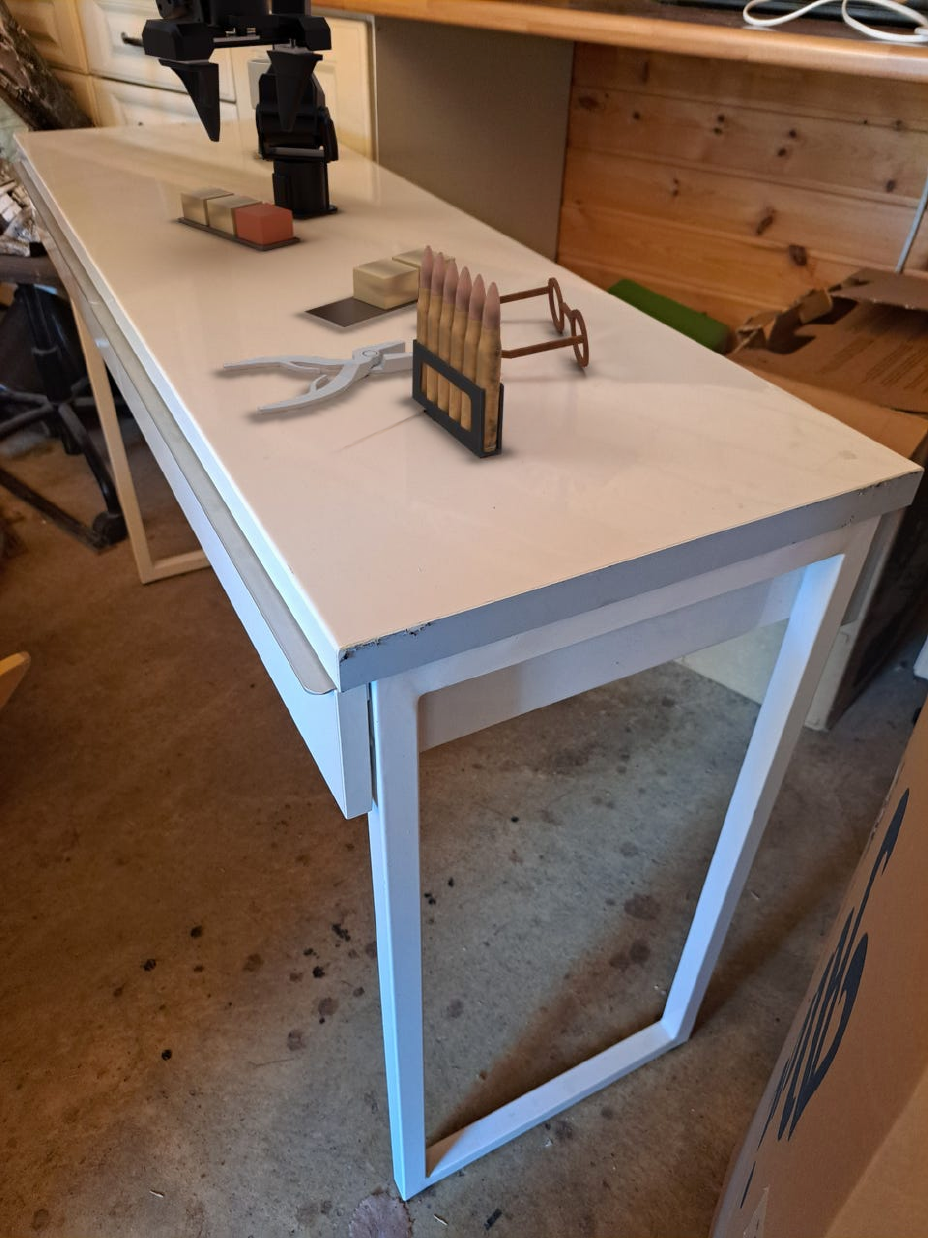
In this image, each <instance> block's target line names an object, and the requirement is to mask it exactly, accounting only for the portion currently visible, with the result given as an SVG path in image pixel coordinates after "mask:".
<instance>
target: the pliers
mask: <svg viewBox="0 0 928 1238" xmlns="http://www.w3.org/2000/svg"><path fill="white" fill-rule="evenodd" d="M351 351H352V358H328V357H323V356H317V355H316V356H314V355H275V356H262V357H254V358H248V359H243V360H237V361H233V362H229V363H224V364H223V366H222V367H223V370H224V371H225V372H230V371H237V370H239V371H240V370H247V369H257V368H271V367H280V368H284V369H288V370H289V371H293V372H297V373H301V374H311V375H320V374H321V369H322V370H340V371H339V373H338V374H337V375H336V376H335V377H334V378H333V379H332V380H331V381H329V382H328V383H327V384H325V385H324V386H322V387H320V388H318V386H320V385H321V384H322V383H324V382H325V381H327V380H328V375H327V374H322V375H320V376H319V377H317V378H316V379H314V380H313V381H312V383H311V384H310V388H309V391H308V393H305V394H302V395H299V396H296V397H293V398H290V399H286V400H281V401H278V402H275V403H274V402H273V403H271V404H266V405H261V406H257V412H258V413H259V415H267V414H277V413H282V412H283V413H284V412H288V411H293V410H297V409H303V408H306V407H310V406H314V405H316V404H319V403H322V402H325V401H327V400H330V399H332V398H334V397H337V396H339V395H341V394H342V393H344V392H345V391H347V390H348V389H349V387H351V386H352V384H354V383H356V382H358V381H360V380H361V379H364V378H365V377H366V376H369V375H371V376H372V375H384V374H389V373H396V372H405V371H410V370H412V366H413V352H406V341H404V340H402V339H398V340H397V339H396V340H393V341H388V342H382V343H376V344H373V345H366V346H363V347H361V348H357V349H353V350H351ZM317 388H318V389H317Z"/></svg>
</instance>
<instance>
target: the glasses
mask: <svg viewBox="0 0 928 1238" xmlns="http://www.w3.org/2000/svg"><path fill="white" fill-rule="evenodd" d="M547 281H548V282H547V286H546V285H545V286H541V287H536V288H532V289H528V290H523V291H518V292H513V293H509V294H505V295H499V299H500V305H503V304H506V303H512V302H516V301H521V300H526V299H530V298H536V297H539V296H545V295H548V303H549V304H548V305H549V309H550V314H551V319H552V322H553V325H554V327H555V329H556V331H557V332H563V331H564V330H565V326H566V325H565V323H566V322H565V320H566V319H565V317H566V318H567V320H568V322H569V326H570V336H569V337H563V338H561V339H556V340H551V341H546V342H542V343H536V344H531V345H527V346H523V347H519V348H513V349H510V350H508V349H502V356H501V359H508V360H511V359H517V358H521V357H525V356H526V357H527V356H530V355H534V354H539V353H544V352H548V351H554V350H557V349H563V348H567V347H572V348H573V352H574V356H575V358H576V361H577V363H578V365H579V366H580V367H581V368H587V367H588V366H589V362H590V346H589V345H590V344H589V338H588V337H589V336H588V332H587V331H588V330H587V327H586V323H585V320H584V317H583V315H582V313H581V311H580V310H579V309H578V308H576V309H572V310H571V308H570V307H569V306H568V303H566V301H564V299H563V294H562V290H561V287H560V285H559V282H558V280H557V278H556V277H554V276H553V277H549V278H548V280H547ZM554 292H555V296H556V299H557V300H556V301H557V306H558V315H557V312H556V311H557V310H556V306H555V298H554V297H555V296H554ZM577 323H578V327H579V330H580V334H579V335H577ZM580 344H582V353H581V350H580V347H579V345H580Z"/></svg>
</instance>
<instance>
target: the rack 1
mask: <svg viewBox="0 0 928 1238" xmlns="http://www.w3.org/2000/svg"><path fill="white" fill-rule="evenodd" d="M179 196H180V203H181V208H182V217H181V216H180V217H178V218H177V221H178V222H179V223H182V224H183V225H184V224H185V225H188V226H190V227H193V228H197V229H199V230H202V231H204V232H207V233H210V234H213V235H216V236H219V237H221V238H224V239H228V240H230V241H233V242H236V243H239V244H242V245H244V246H248V247H250V248H253V249H256V250H259V251H262V252H264V251H268V250H272V249H276V248H280V247H284V246H288V245H292V244H298V243H301V238H300V237H297V236H295V235H294V238H291V239H287V240H283V241H279V242H274V243H270V244H266V245H261V244H258V243H255V242H252V241H249V240H246V239H243V238H240V237H238V232H237V224H236V216H235V209H239V208H244V207H249V206H254V205H259V204H263V201H261V200H258V199H254V198H253V197H252V198H251V197H248V196H245V195H242V194H235V193H234V192H232V191H228V190H225V189H222V188H219V187H216V186H213V185H211V186H203V187H199V188H193V189H188V190H182V191H180V192H179Z"/></svg>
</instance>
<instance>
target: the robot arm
mask: <svg viewBox="0 0 928 1238" xmlns="http://www.w3.org/2000/svg"><path fill="white" fill-rule="evenodd" d="M269 4H270V5H269ZM155 5H156V8H157V10H158V14H159V16H160V17H161V18H151V19H146V20H145V23H144V26H143V28H142V31H141V39H142V47H143V51H144V52H143V53H144V56H149V57H154V58H157V62H159V65H160V66H162V67H167V68H170V69H171V70H172V72H173V73H174V74H175V75H176V76H177V78H178V79H180V81H181V84H182V85H183V86H184V88H185V91H187V94H188V95H189V97H190V99H191V101H192V103H193V105H194V108H195V110H196V112H197V114H198V117H199V119H200V121H201V123H202V126H203V128H204V130H205V132H206V134H207V137H208V139H209V141H210V142H213V143H219V142H220V139H221V138H220V137H221V101H220V100H221V96H220V95H221V94H220V92H221V91H220V63H217V62H212V61H209V60H210V59H211V57H212V56H213V53H214V51H215V50H220V49H232V48H233V49H236V48H248V47H264V46H271V48H272V49H266V50H265V52H266V55H267V58H269V59H270V61H271V64H270V66H269V68H268V70H267V72H266V74H264V73H262V74H261V76H260V79H259V81H258V86H259V103H258V104H257V106H256V110H255V112H254V113H255V115H254V116H255V119H254V120H255V127H256V131H257V139H258V138H259V143H260V148H261V153H262V155H261V158H262V160H264V161H267V160H272V167H273V172H272V173H271V182H272V191H273V192H272V193H273V204H272V205H275V206H278V207H281V208H285V209H288V210H291V211H292V218H296V219H299V220H300V219H301V220H303V219H308V218H311V217H317V216H321V215H327V214H329V213H335V212H338V211H339V206H337V205H334V204H330V188H329V169H328V164H331V162H338V161H339V159H340V157H339V155H340V154H339V144H338V138H337V133H336V128H335V127H336V126H335V123H334V120H333V119H332V117H331V113H330V110H329V107H328V106H326V93H325V91H324V90H323V87H322V85H321V83H320V82H319V80H318V77H317V76H316V73H315V72H314V71H315V68H316V66H317V64H318V62H323V61H324V54H322V53H316V52H323V51H324V52H325V51H333V45H332V44H333V43H332V29H331V27H330V26H329V23H328V22H327V20H326V18H325V17H324V16H322V15H321V16H319V15H313V14H312V0H270V3H269V0H155ZM270 7H271V9H270ZM270 10H271V12H270ZM253 29H254V30H253ZM321 147H322V149H321Z"/></svg>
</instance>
